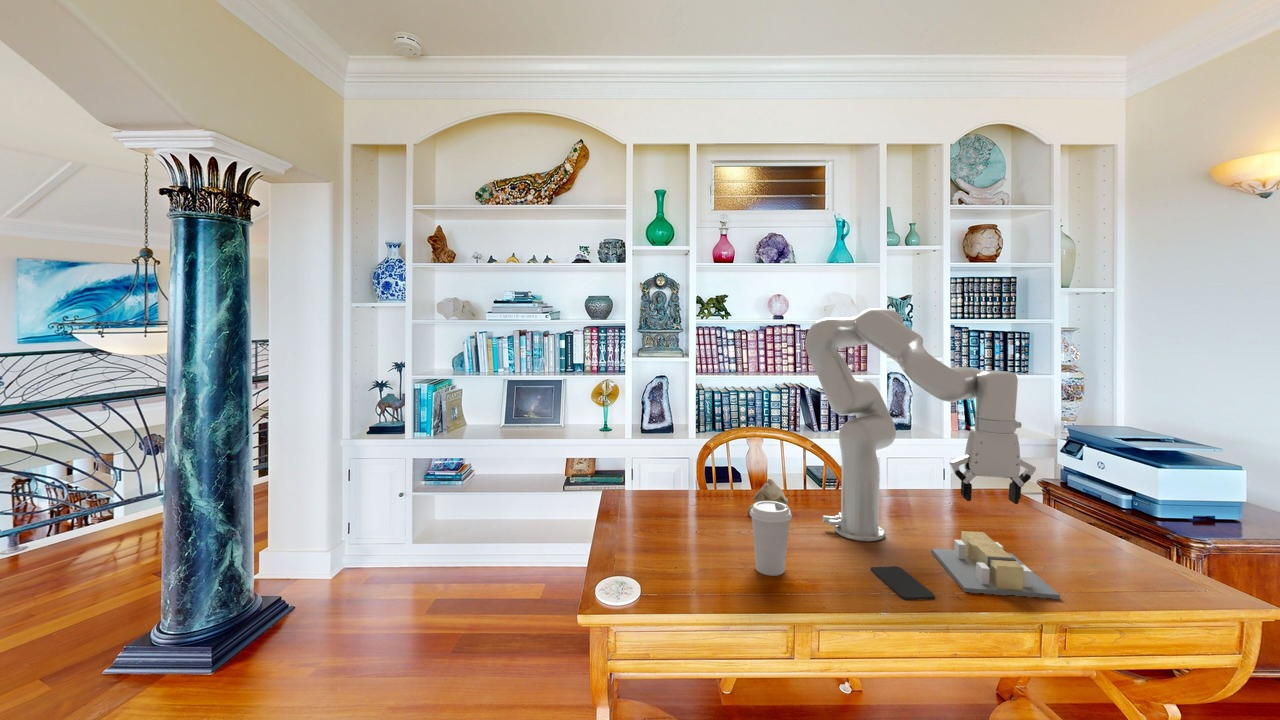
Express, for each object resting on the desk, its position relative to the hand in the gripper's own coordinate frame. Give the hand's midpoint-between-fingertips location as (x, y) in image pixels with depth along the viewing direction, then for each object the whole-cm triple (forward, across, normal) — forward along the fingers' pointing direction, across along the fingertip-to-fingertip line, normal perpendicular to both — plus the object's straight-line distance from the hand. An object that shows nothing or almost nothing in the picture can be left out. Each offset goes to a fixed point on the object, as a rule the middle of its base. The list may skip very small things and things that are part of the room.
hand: (989, 500), depth 126 cm
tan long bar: (+16, -1, 0) cm, 16 cm away
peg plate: (+17, -1, +1) cm, 17 cm away
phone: (+18, +20, +9) cm, 28 cm away
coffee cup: (+18, +48, +7) cm, 52 cm away
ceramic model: (+19, +47, -34) cm, 61 cm away
